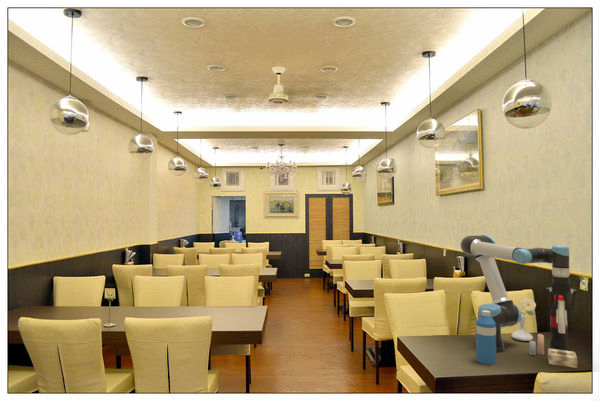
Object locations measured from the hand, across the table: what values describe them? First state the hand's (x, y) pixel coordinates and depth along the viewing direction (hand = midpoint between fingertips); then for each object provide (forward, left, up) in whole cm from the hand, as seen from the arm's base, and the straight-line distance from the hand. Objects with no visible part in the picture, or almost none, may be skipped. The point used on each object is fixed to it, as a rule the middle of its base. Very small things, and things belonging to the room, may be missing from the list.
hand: (561, 322), depth 219 cm
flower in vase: (-17, +35, -20) cm, 44 cm away
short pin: (-13, +6, -20) cm, 24 cm away
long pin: (0, 0, -5) cm, 5 cm away
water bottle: (-34, -17, -20) cm, 43 cm away
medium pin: (-9, +10, -20) cm, 24 cm away
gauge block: (0, 0, -20) cm, 20 cm away
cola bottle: (0, +21, -20) cm, 29 cm away
